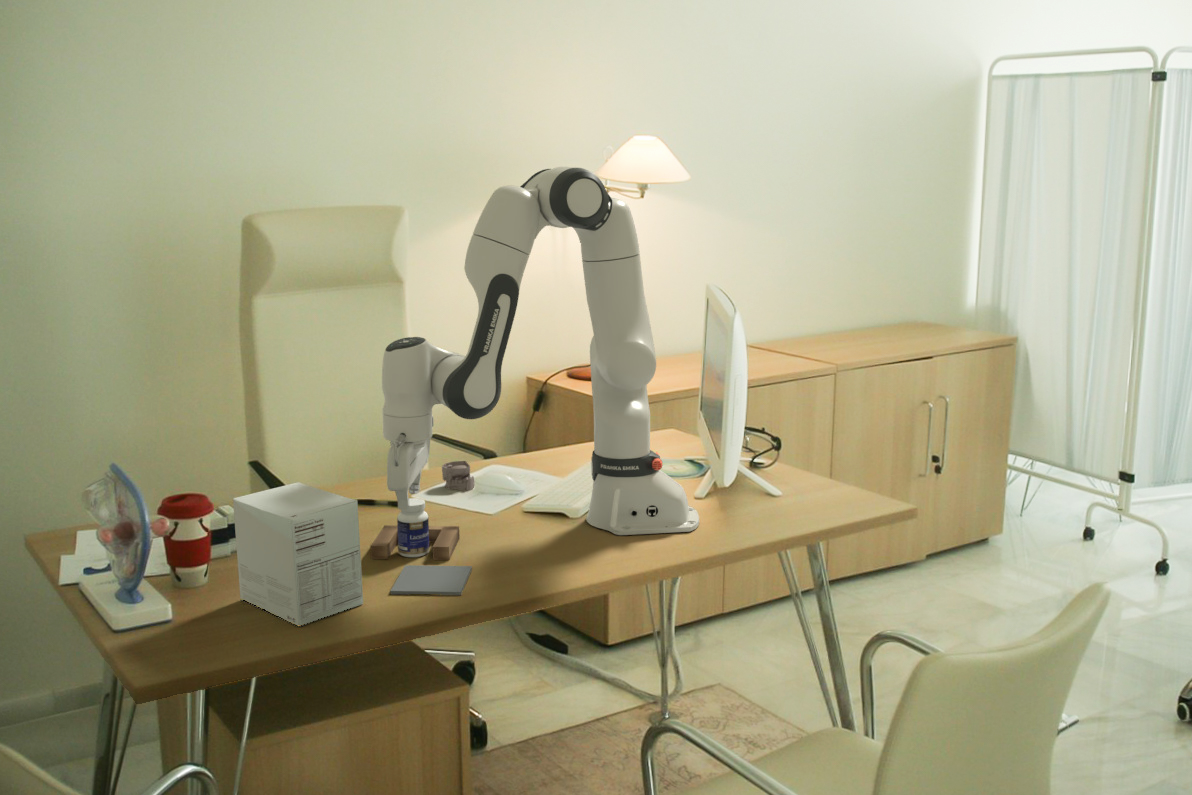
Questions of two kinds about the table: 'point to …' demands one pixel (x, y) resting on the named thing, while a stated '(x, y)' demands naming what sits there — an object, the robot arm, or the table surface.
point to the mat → (431, 580)
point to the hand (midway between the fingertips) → (409, 500)
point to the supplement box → (298, 552)
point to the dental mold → (458, 475)
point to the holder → (440, 535)
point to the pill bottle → (413, 529)
